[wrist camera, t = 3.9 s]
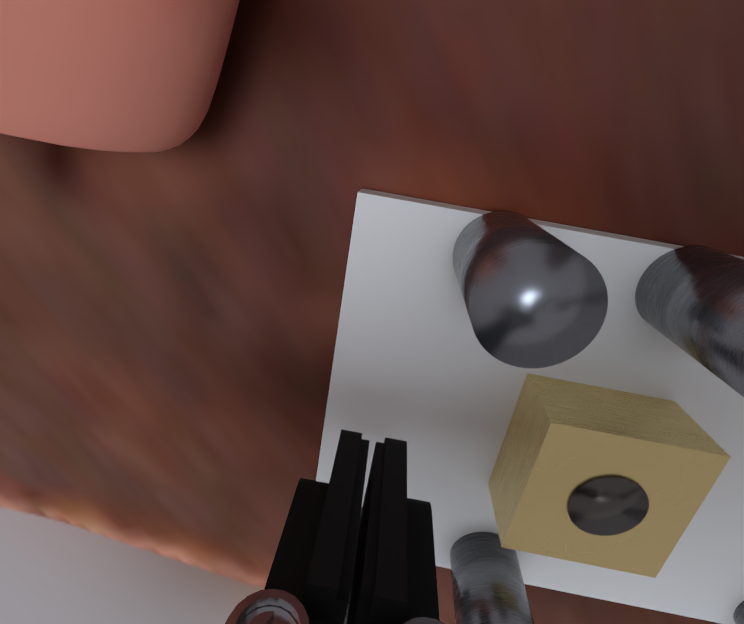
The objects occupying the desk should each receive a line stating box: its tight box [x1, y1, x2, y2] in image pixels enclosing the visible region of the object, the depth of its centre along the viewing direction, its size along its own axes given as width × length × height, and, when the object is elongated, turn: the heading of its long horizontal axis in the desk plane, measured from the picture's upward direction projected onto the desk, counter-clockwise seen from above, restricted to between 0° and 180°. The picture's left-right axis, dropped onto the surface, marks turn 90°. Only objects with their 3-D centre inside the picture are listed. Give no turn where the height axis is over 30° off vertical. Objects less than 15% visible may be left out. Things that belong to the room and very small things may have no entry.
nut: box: [488, 373, 731, 578], centre depth 12 cm, size 4×4×2 cm
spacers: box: [344, 211, 744, 624], centre depth 11 cm, size 17×13×4 cm
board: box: [316, 188, 744, 624], centre depth 14 cm, size 26×13×1 cm, turn 81°
